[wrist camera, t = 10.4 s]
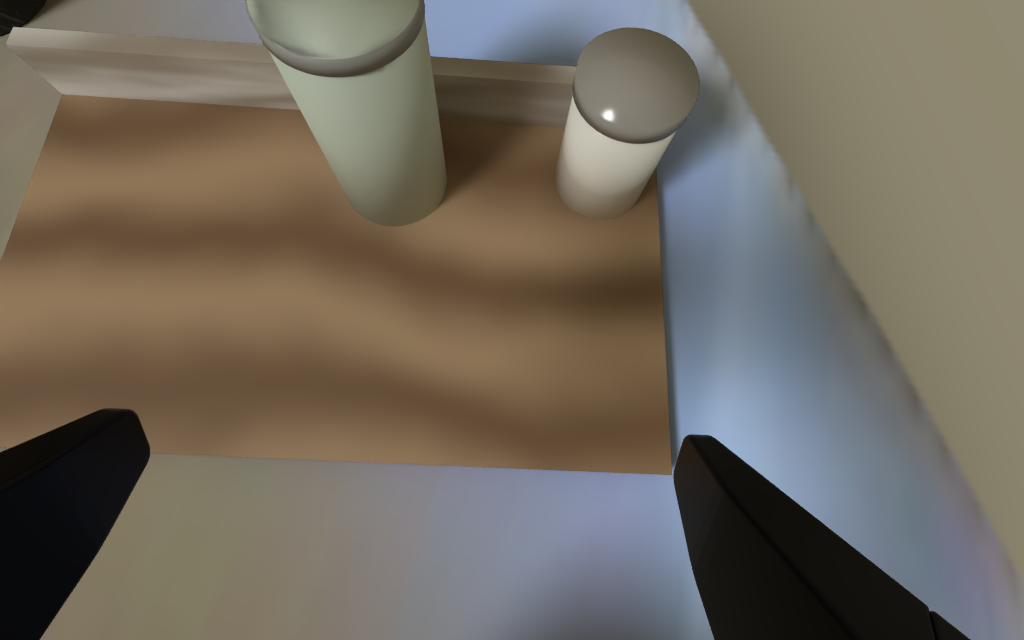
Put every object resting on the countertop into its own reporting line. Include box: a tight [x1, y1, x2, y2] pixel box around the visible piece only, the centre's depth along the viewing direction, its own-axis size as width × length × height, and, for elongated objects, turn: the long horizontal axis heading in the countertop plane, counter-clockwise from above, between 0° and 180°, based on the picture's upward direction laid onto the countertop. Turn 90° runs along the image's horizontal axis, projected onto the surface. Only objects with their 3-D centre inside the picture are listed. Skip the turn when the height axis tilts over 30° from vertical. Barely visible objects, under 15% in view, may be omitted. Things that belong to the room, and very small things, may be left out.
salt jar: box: [554, 28, 700, 219], centre depth 21 cm, size 5×5×7 cm
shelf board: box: [0, 27, 672, 475], centre depth 22 cm, size 18×30×4 cm, turn 88°
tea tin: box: [245, 0, 447, 226], centre depth 19 cm, size 5×5×10 cm
